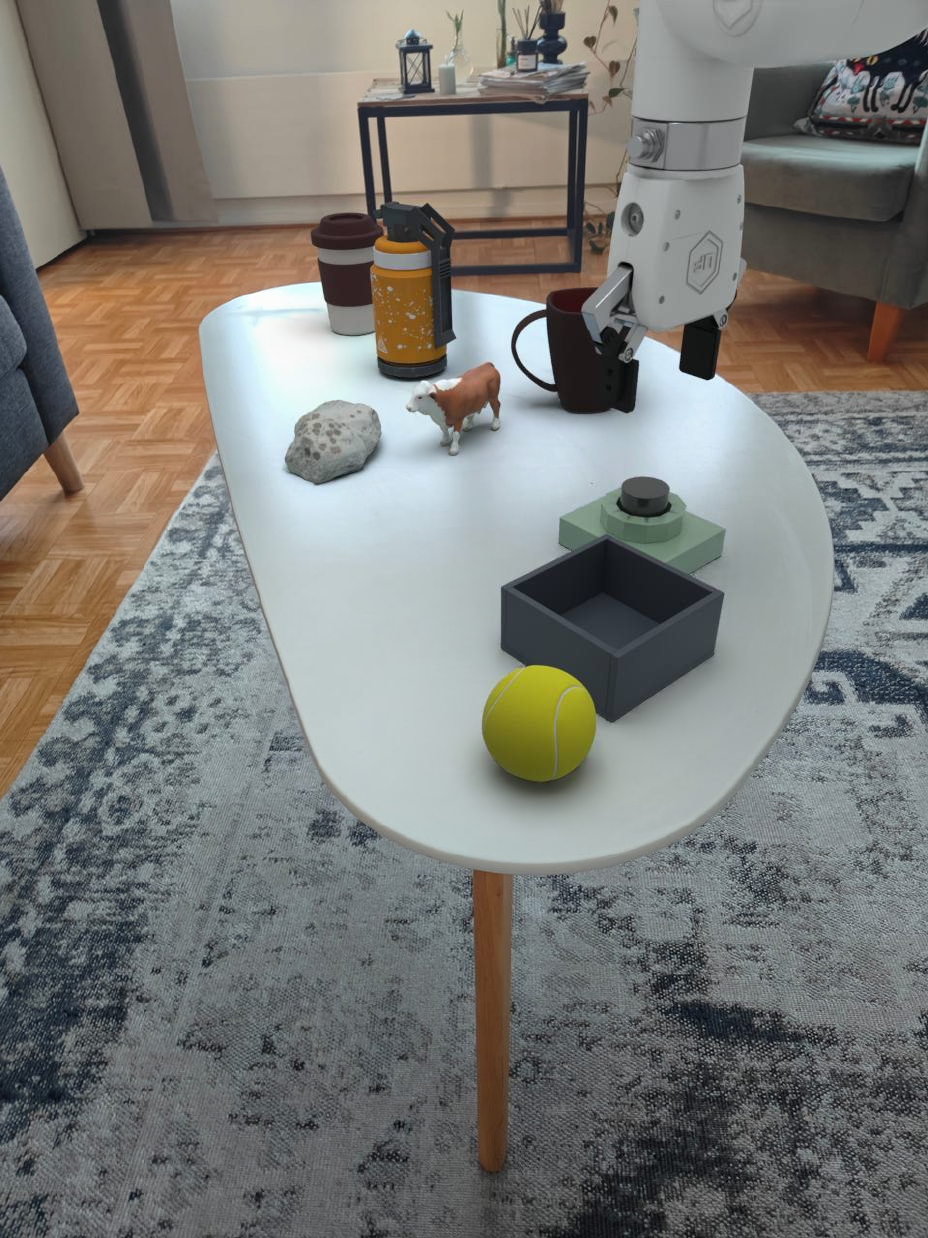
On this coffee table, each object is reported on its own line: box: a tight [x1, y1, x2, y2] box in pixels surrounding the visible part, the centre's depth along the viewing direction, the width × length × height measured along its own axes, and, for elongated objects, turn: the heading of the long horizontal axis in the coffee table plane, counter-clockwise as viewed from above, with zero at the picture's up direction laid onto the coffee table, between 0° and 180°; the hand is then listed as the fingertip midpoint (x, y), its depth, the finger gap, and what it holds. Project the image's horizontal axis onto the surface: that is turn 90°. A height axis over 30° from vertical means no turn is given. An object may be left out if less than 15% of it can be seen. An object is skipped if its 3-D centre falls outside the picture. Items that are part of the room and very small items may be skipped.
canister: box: [370, 200, 457, 379], centre depth 110 cm, size 9×11×20 cm
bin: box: [500, 534, 725, 723], centre depth 66 cm, size 11×11×6 cm
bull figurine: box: [405, 361, 502, 456], centre depth 96 cm, size 4×13×8 cm, turn 139°
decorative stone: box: [284, 399, 383, 485], centre depth 94 cm, size 12×11×5 cm
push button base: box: [558, 487, 727, 575], centre depth 78 cm, size 11×9×4 cm
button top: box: [620, 475, 671, 518], centre depth 76 cm, size 4×4×2 cm
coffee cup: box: [310, 212, 385, 336], centre depth 126 cm, size 10×10×15 cm
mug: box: [510, 286, 631, 414], centre depth 102 cm, size 10×14×12 cm
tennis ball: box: [481, 665, 597, 783], centre depth 56 cm, size 7×7×7 cm
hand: (657, 390), depth 70 cm, fingers open, 9 cm apart
